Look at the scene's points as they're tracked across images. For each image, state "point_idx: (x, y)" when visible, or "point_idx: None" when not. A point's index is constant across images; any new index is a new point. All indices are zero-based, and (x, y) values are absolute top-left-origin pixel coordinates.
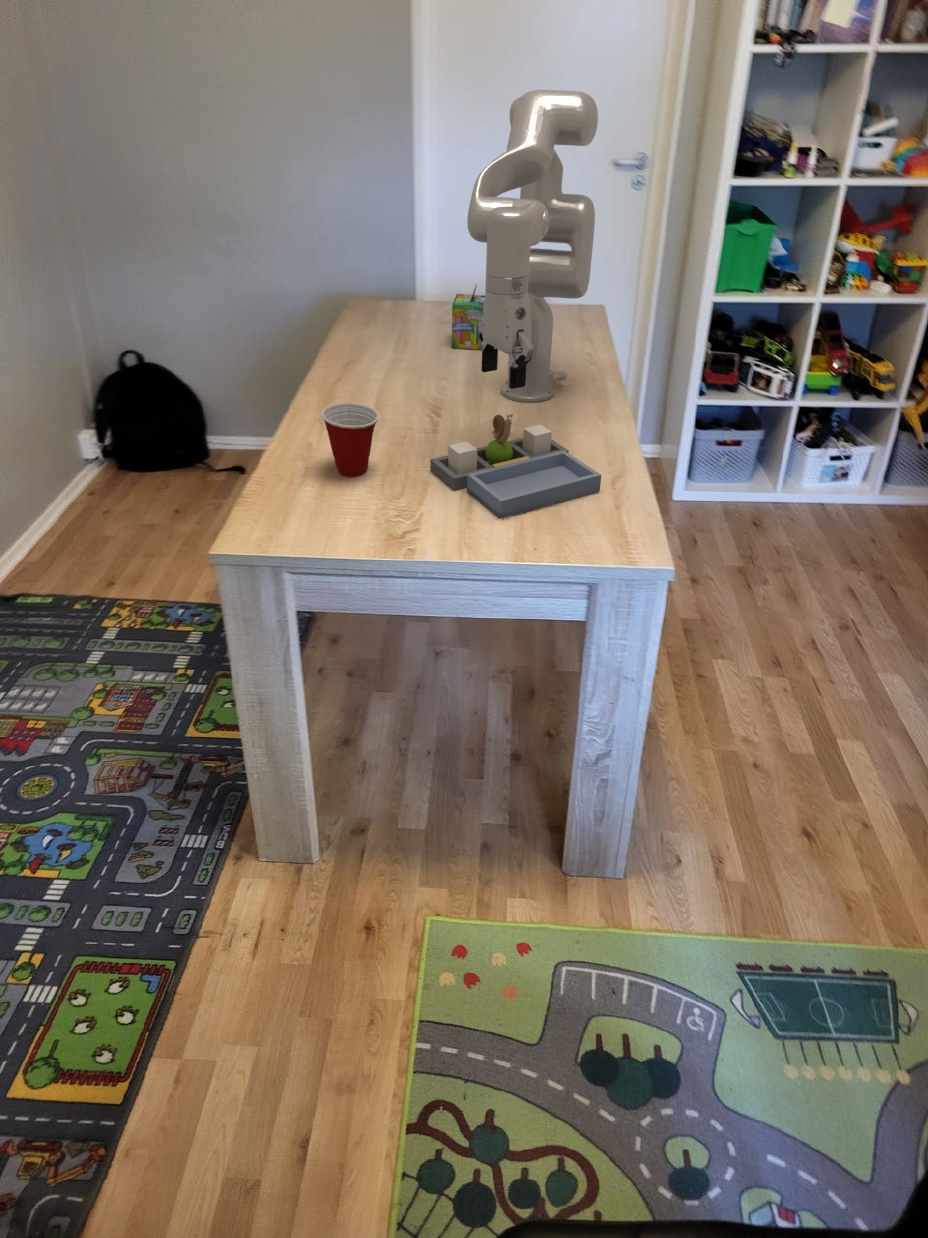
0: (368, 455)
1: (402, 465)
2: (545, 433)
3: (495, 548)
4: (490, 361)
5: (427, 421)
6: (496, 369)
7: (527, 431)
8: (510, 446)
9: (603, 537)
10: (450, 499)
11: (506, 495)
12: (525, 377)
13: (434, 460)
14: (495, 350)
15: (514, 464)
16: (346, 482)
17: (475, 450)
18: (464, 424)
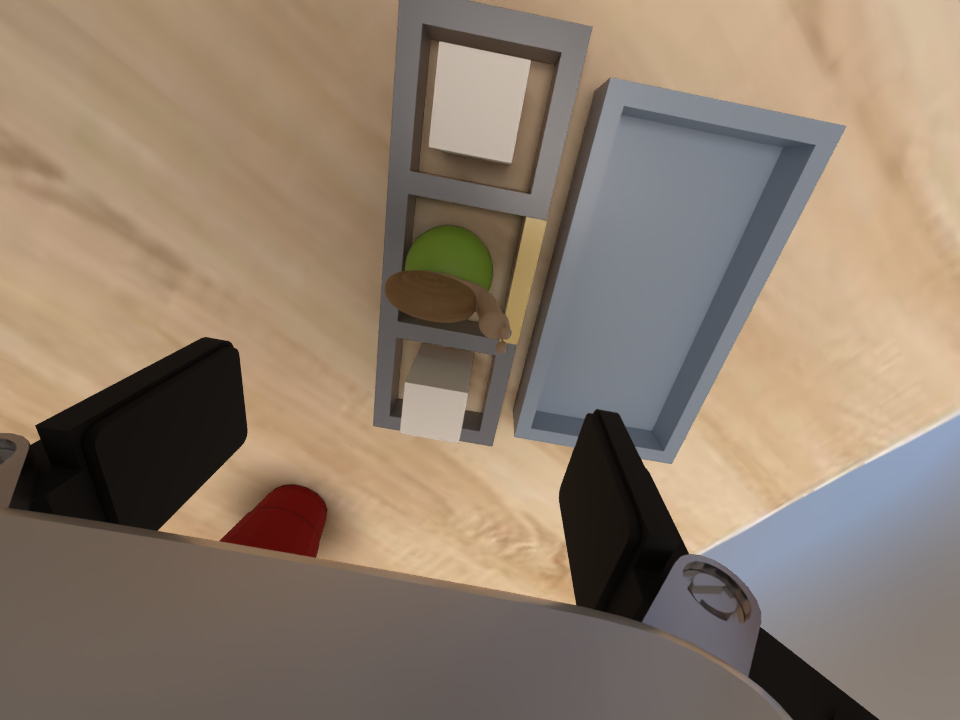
0: (307, 525)
1: (324, 433)
2: (523, 100)
3: (718, 503)
4: (193, 440)
5: (83, 226)
6: (236, 351)
7: (458, 152)
8: (475, 254)
9: (915, 329)
10: (518, 452)
11: (612, 381)
12: (635, 451)
13: (384, 422)
14: (92, 455)
15: (559, 311)
16: (340, 534)
17: (467, 396)
18: (138, 137)
